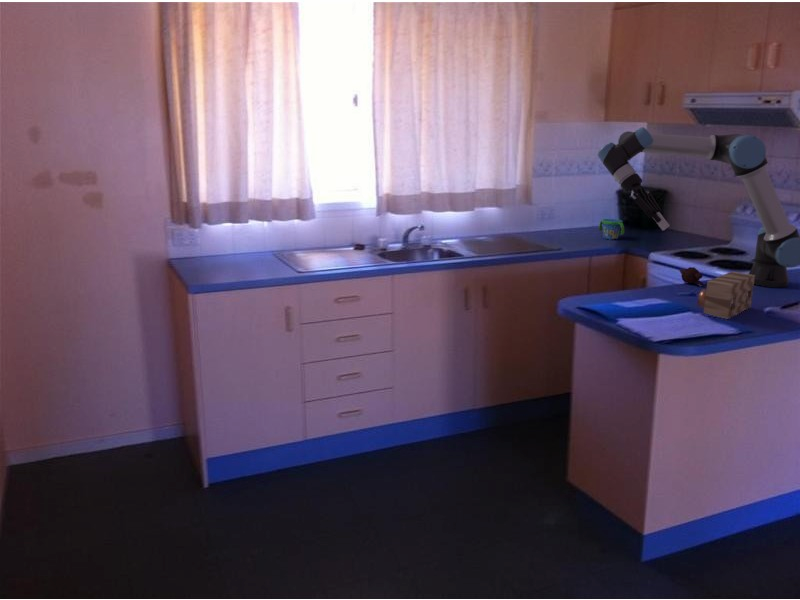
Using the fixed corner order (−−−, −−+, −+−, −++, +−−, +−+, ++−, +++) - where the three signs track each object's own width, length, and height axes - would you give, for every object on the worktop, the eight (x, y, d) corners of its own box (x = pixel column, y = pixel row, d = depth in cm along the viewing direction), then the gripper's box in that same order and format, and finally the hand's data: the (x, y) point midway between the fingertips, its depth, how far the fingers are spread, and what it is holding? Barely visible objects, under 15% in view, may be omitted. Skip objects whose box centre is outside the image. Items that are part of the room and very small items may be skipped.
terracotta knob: (703, 304, 251) (705, 288, 250) (734, 310, 244) (736, 293, 243) (696, 307, 247) (698, 290, 246) (727, 313, 240) (730, 296, 239)
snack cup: (628, 240, 383) (630, 221, 380) (613, 242, 378) (615, 223, 375) (607, 235, 396) (609, 217, 393) (593, 237, 391) (594, 218, 389)
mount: (726, 303, 261) (730, 271, 258) (750, 307, 255) (755, 275, 252) (701, 315, 246) (706, 281, 242) (726, 320, 240) (731, 285, 237)
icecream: (671, 264, 295) (692, 276, 281) (687, 259, 295) (709, 270, 282) (672, 279, 297) (694, 291, 284) (688, 274, 298) (710, 286, 284)
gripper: (629, 184, 276) (666, 232, 269) (612, 186, 267) (650, 236, 260) (643, 171, 271) (681, 220, 265) (627, 173, 262) (666, 223, 256)
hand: (666, 228), depth 263 cm, fingers closed
